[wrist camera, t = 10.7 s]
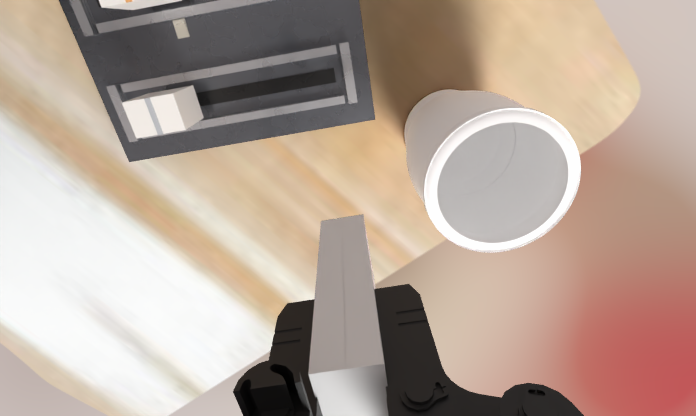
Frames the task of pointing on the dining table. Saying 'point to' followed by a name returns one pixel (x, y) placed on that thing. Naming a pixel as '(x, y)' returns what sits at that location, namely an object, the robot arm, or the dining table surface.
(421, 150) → the jar
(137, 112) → the fader
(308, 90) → the dark grey slotted tray
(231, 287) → the dining table surface
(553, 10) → the dining table surface
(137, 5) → the fader
